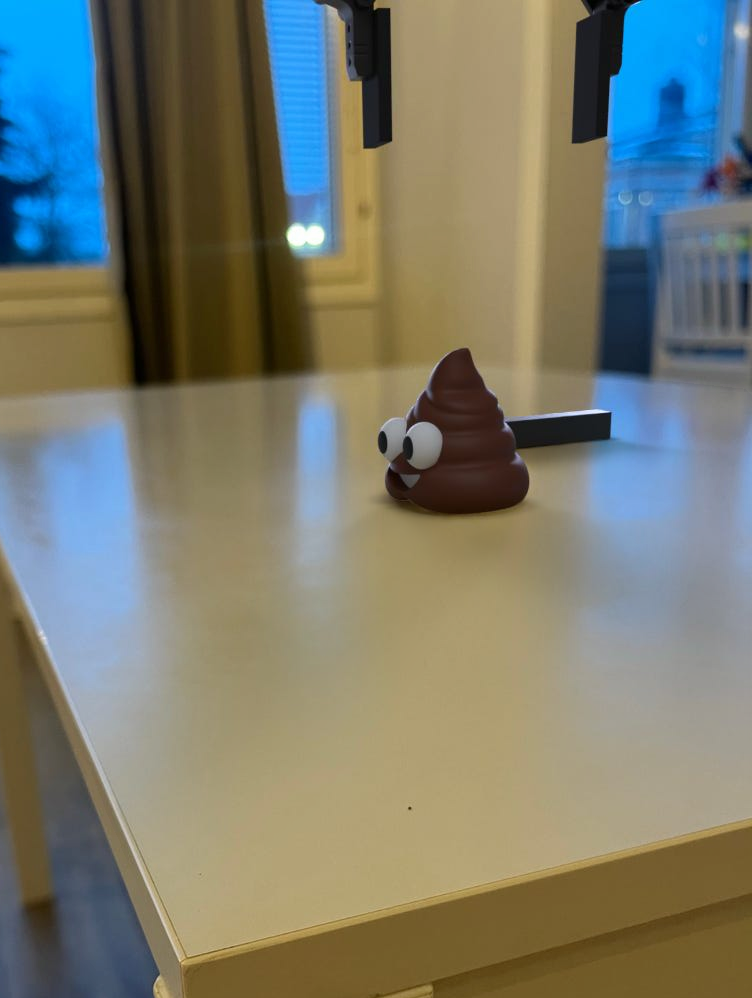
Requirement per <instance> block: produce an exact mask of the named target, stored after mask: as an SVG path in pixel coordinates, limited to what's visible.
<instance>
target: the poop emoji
mask: <svg viewBox="0 0 752 998" xmlns="http://www.w3.org/2000/svg"><path fill="white" fill-rule="evenodd" d="M477 368H478V367H476V365H475V362H474V360H473V356H472V353H471V350H470V349H469V347H461V348H457V349H453V350H452V351H449V352H448V353H447V354H445V355H444V356H443V357H442V358H441V359H440V360H439V361H438V363H437V364H436V365H435V366H434V368H433V370H432V371H431V373H430V375H429V378H428V380H427V385H426V388H424V389H423V390H422V391H421V393H419V395H418V397H417V399H416V401H415V403H414V404H413V405H412V407H411V408H410V409H409V410H408V412H407V413H406V416H405V418H404V417H392V418H390V419H388V420H387V421H386V422H385V423H384V424H383V425H382V427H381V428H380V431H379V432H378V435H377V446H378V450H379V452H380V453H381V454H382V456H383V457H384V458H385V460H387V461H389V464H388V465H387V468H386V469H385V470H386V471H385V475H384V485H385V489H386V492H387V493H388V495H389V496H390V497H391V498H392V499H394V500H395V501H399V502H406V501H409V502H411V503H412V504H413V505H415V506H417V507H419V508H421V509H423V510H426V511H428V512H433V513H439V514H443V515H445V514H446V515H476V514H485V513H486V514H487V513H491V512H498V511H503V510H507V509H511V508H513V507H516V506H517V505H519V504H520V503H522V502H523V501H524V499H526V497H527V495H528V492H529V489H530V474H529V469H528V467H527V465H526V462H525V461H524V459H523V458H522V457H521V456H520V454H519V453H517V452H516V449H517V448H516V441H515V437H514V434H513V432H512V430H511V428H510V427H509V426H508V425H507V424H506V423H505V422H504V418H505V415H504V414H505V413H504V410H503V409H502V407H501V406H500V404H499V399H498V397H497V395H496V394H495V393H494V392H493V391H491V390H490V389H489V388H488V387H487V386H486V384H485V381H484V378H483V376H482V375H481V372H479V370H478V369H477Z"/></svg>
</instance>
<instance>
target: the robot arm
mask: <svg viewBox="0 0 752 998" xmlns="http://www.w3.org/2000/svg"><path fill="white" fill-rule="evenodd" d="M312 1H313V2H314V4H316V5H319V6H325V5H326V6H329V7H331V8H333V9H335V10H336V12H337V16H338V18H339V19H340V20H341V21H342V22H344V41H345V42H344V43H345V73H346V75H347V78H348V81H349V82H361V101H362V102H361V106H362V107H361V108H362V109H361V110H362V111H361V112H362V113H361V115H362V149H363V150H373V149H379V148H380V147H382V146H385V145H387V144H390V143H392V142H393V101H392V100H393V90H392V89H393V88H392V87H393V86H392V27H391V26H392V24H391V23H392V20H391V19H392V17H391V7H376V8H375V2H376V1H377V0H312ZM642 1H643V0H580V2H581V3H582V5H583V7H584V9H586V12H587V13H588V14H589V16H586V17H584V18H583V19H581V20H578V21H577V22H575V45H574V69H573V71H574V73H573V95H572V96H573V97H572V119H571V120H572V121H571V145H574V144H575V145H576V144H577V145H578V144H585V143H589V142H593V141H596V140H600V139H603V138H606V137H608V131H609V111H610V91H611V89H610V88H611V78H612V77H616V76H618V75H619V74H620V71H621V69H622V65H623V52H624V46H623V45H624V35H625V32H624V31H625V19H626V13H627V12H628V10H629V8H631V7H632V6H634V5H636V4H638V3H640V2H642Z"/></svg>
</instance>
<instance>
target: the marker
mask: <svg viewBox="0 0 752 998" xmlns="http://www.w3.org/2000/svg"><path fill="white" fill-rule="evenodd" d="M612 413H613V412H612V411H609V410H603V409H587V410H576V411H567V412H566V411H565V412H555V413H544V414H535V415H534V414H533V415H523V416H512V417H511V416H510V417H504V422H505V423H506V424H507V425H508V426H509V427H510V428H511V430H512V432H513V434H514V437H515V441H516V448H515V449H519V448H520V449H522V448H531V447H541V446H543V447H544V446H552V445H562V444H571V443H582V442H592V441H593V442H594V441H601V440H610V439H611V435H612V434H611V433H612V432H611V431H612V415H613V414H612Z"/></svg>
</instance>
